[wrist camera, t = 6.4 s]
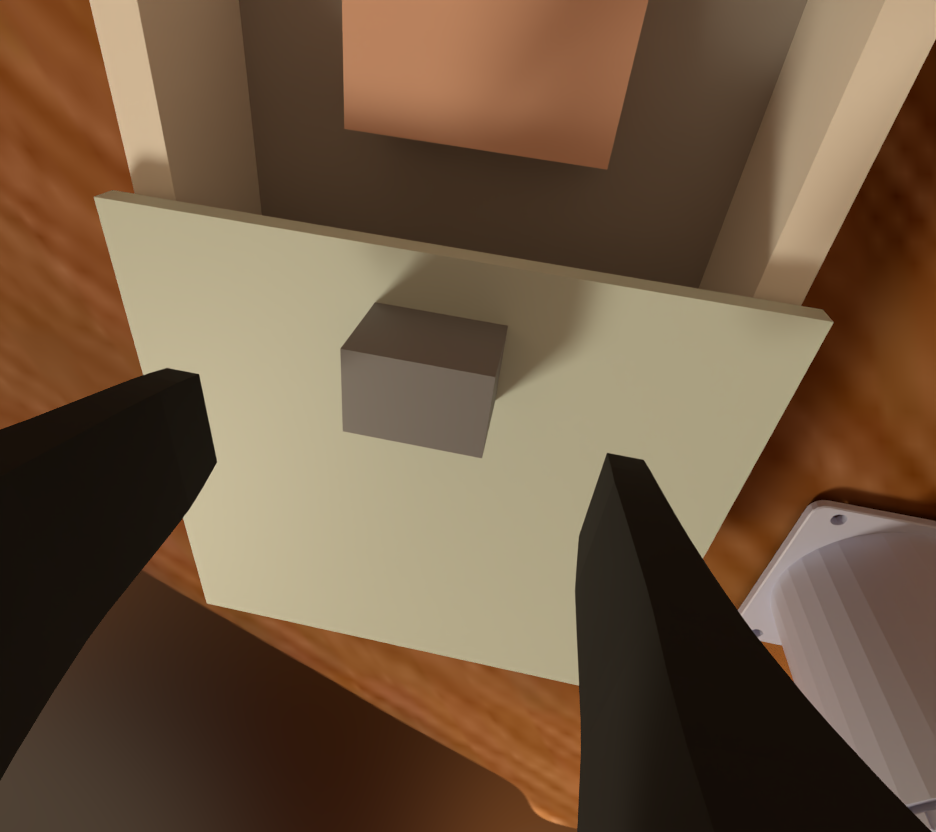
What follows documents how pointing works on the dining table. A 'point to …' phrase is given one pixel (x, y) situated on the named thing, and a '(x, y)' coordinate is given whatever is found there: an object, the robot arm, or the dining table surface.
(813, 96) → the carton
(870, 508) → the robot arm
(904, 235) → the dining table surface
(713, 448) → the lid
